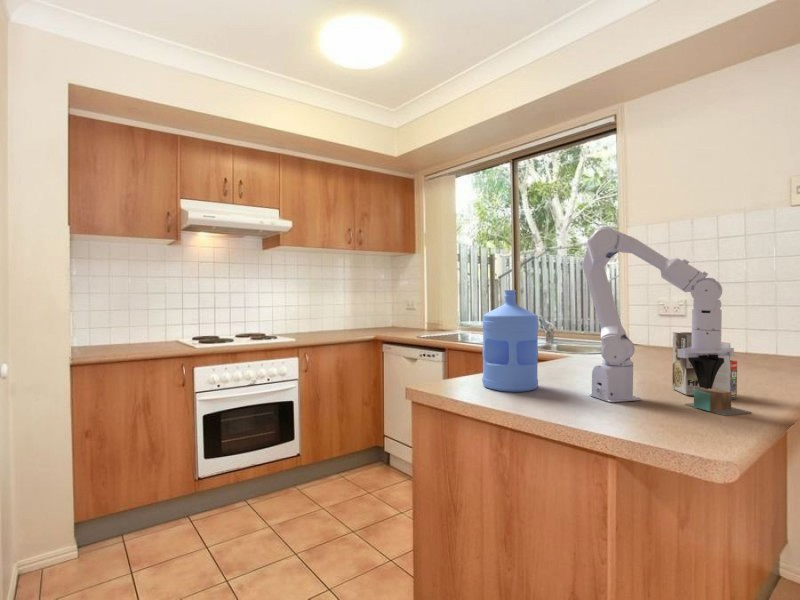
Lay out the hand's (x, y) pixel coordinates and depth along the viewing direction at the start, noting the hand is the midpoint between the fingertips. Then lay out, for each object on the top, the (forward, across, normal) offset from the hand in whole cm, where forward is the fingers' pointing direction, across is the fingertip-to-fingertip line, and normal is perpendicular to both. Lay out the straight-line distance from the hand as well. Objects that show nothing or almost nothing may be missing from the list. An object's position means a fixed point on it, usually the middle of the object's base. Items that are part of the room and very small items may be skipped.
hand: (705, 387), depth 105 cm
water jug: (+5, -31, +35) cm, 47 cm away
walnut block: (+3, -1, 0) cm, 3 cm away
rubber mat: (+5, +4, 0) cm, 6 cm away
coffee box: (+5, +12, +15) cm, 20 cm away
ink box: (+5, +16, +10) cm, 19 cm away
